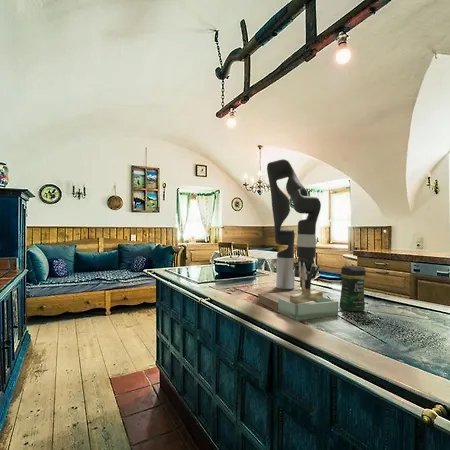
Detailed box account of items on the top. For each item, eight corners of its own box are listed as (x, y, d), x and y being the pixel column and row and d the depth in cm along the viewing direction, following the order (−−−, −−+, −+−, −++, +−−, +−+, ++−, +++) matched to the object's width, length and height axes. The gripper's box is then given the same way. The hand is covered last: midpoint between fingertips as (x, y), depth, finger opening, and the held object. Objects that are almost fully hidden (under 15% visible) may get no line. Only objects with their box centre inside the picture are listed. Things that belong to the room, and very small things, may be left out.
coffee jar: (349, 313, 120) (350, 267, 120) (336, 307, 127) (337, 265, 127) (368, 311, 123) (369, 267, 123) (354, 306, 130) (355, 264, 130)
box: (317, 307, 127) (317, 294, 127) (338, 315, 116) (338, 301, 116) (278, 311, 120) (278, 298, 120) (296, 320, 109) (296, 305, 109)
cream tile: (310, 303, 126) (310, 300, 126) (318, 306, 121) (318, 303, 121) (300, 304, 124) (300, 301, 124) (308, 307, 119) (308, 304, 119)
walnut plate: (294, 298, 142) (294, 291, 142) (316, 307, 128) (317, 299, 128) (258, 301, 135) (258, 294, 135) (277, 311, 120) (277, 302, 120)
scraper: (317, 297, 124) (316, 264, 124) (322, 299, 121) (321, 265, 121) (290, 302, 119) (288, 267, 118) (294, 304, 116) (293, 269, 115)
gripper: (325, 246, 115) (324, 291, 115) (303, 244, 128) (302, 284, 128) (310, 246, 112) (308, 292, 112) (288, 244, 125) (287, 285, 125)
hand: (305, 287), depth 120 cm, fingers closed on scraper, 2 cm apart
